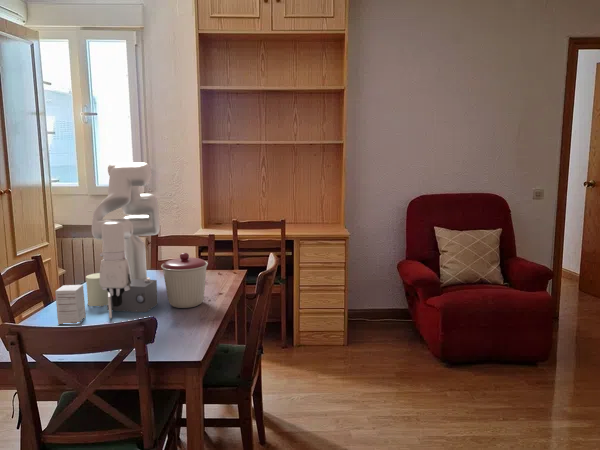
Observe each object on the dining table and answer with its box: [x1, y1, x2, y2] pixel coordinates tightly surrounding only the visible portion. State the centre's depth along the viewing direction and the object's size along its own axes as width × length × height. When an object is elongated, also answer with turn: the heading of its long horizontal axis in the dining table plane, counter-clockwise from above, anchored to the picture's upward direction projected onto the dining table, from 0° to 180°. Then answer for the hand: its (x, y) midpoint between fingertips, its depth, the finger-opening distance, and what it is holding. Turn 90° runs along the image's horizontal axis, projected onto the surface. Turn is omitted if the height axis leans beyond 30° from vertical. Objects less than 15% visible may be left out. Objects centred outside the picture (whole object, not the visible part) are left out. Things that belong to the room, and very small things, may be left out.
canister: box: [160, 252, 209, 309], centre depth 190 cm, size 18×18×21 cm
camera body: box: [112, 278, 159, 313], centre depth 187 cm, size 14×11×11 cm
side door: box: [106, 292, 113, 319], centre depth 179 cm, size 10×2×8 cm, turn 21°
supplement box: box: [54, 284, 87, 324], centre depth 173 cm, size 7×7×13 cm
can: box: [85, 272, 108, 307], centre depth 193 cm, size 9×9×12 cm
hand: (117, 305), depth 174 cm, fingers closed
